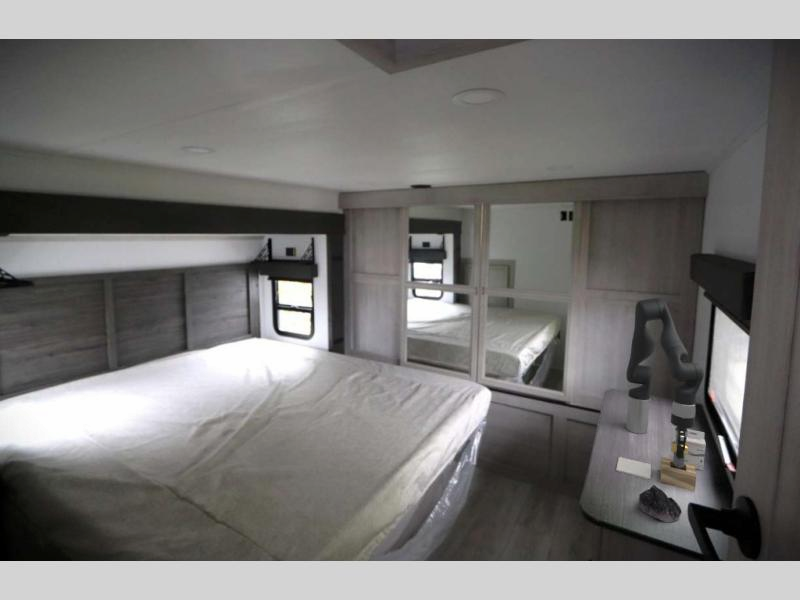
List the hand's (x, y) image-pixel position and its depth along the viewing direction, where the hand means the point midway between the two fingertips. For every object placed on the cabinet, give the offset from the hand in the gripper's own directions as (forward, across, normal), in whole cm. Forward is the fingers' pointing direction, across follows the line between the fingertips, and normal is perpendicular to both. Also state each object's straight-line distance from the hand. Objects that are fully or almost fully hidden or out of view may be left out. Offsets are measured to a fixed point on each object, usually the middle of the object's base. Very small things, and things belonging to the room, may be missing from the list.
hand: (679, 454), depth 162 cm
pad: (+11, -1, -15) cm, 19 cm away
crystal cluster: (+11, +26, -6) cm, 29 cm away
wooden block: (+11, 0, 0) cm, 11 cm away
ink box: (+11, -16, +5) cm, 20 cm away
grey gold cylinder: (+11, 0, 0) cm, 11 cm away
